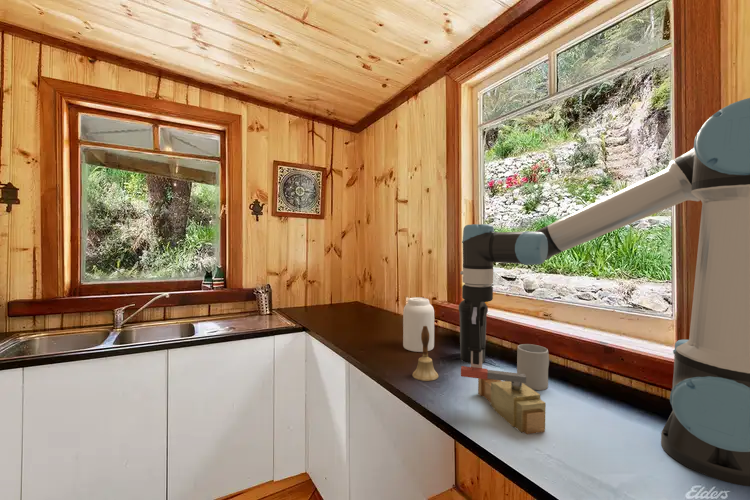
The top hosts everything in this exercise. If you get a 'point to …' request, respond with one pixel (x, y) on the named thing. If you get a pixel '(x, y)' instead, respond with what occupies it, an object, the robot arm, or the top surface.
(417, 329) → the white lidded jar
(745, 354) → the robot arm
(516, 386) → the lever
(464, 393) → the top surface
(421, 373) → the hand bell
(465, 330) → the water bottle
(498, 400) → the valve
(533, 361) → the mug
